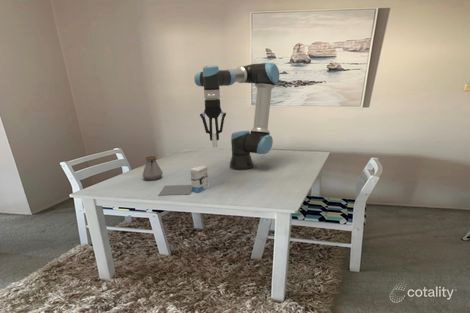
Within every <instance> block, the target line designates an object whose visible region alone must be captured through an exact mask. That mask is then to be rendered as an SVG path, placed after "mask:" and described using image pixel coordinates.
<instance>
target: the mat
mask: <svg viewBox="0 0 470 313" xmlns="http://www.w3.org/2000/svg"><path fill="white" fill-rule="evenodd" d="M192 192H193V191H192V184H176V185H173V184H172V185H164V186H163V188H162V189H161V190H160V192H159V194H158V196H159V197H160V196H183V195H184V196H187V195H188V196H189V195H190V196H191V194H192Z"/></svg>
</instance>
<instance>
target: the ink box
mask: <svg viewBox="0 0 470 313" xmlns="http://www.w3.org/2000/svg"><path fill="white" fill-rule="evenodd" d="M208 171H209V170H208V166H206V165H198V166H195V167H193V168H191V169H190V181H191V184H190V185H192V192H195V193H201V192H204V191H205V190H206V189H208V188H209V175H208Z"/></svg>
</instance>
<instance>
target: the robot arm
mask: <svg viewBox="0 0 470 313" xmlns="http://www.w3.org/2000/svg"><path fill="white" fill-rule="evenodd" d="M193 78H194V83H195V85H196V86H198V87H201V88H202V87H203V94H204V95H203V97H204V111H203V112H202V113H200V114H199V117H200V118H201V120H202V123H203V126H204V130H205V134H209V141H212V142H211V143H212V148H218V141H219V140H220V134H221V133H222V132H223V128H224V123H225V117H226V115H227V113H226V112H224V111H223V110H222V108H221V99H220V98H221V93H220V92H221V90H220V87H223V86H224V87H225V86H227V87H229V86H232V85H234V84H235V83H239V84H254V86H255V87H256V97H255V106H254V107H255V109H254V117H253V118H254V119H253V128H252V129H251V130H250V131H249V130H240V131H235V132H234V131H233V132H232V133H231V137H230V138H231V139H230V144H231V158H230V162H229V168H230V169H232V170H234V171H235V170H237V171H243V170H250V169H252V168H253V167H254V162H253V160H252V156H251V153H252V154H258V155H266V154H267V153H269V152H270V151H271V149H272V148H273V143H274V142H273V141H274V139H273V137H272V135H271V132H270V131H269V129H268V128H269V118H270V109H271V97H272V89H274V88H275V84H276V83H278V82H279V80H280V71H279V67H278V66H277V64H276V63H274V62H263V63H262V62H260V63H251V64H248V65H247V64H246V65H243V66H238V67H236V68H232V69H219V66H218V65H204V66H203V67H202V71H198V72H196V73H195V75H194V77H193ZM220 115H221V120H220V128H219V120H218V118H219V117H220ZM206 117H207V118H208V123H207V120H206ZM213 119H214V124H215V133H213ZM208 124H209V125H208ZM208 126H209V127H208Z"/></svg>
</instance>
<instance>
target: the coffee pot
mask: <svg viewBox="0 0 470 313" xmlns="http://www.w3.org/2000/svg"><path fill="white" fill-rule="evenodd" d="M156 158H157V156H155V155H152V156H151V155H150V156H146V157H144V159H145V161H146V163H145V166H144V169H143V172H142V177H143V178H144V179H146V180H147V181H157V180H159V179H160V178H161V177H162V176H163V173H164V172H163V170H162V169H161V168H160V165H159V164H158V162H157V160H156Z"/></svg>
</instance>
